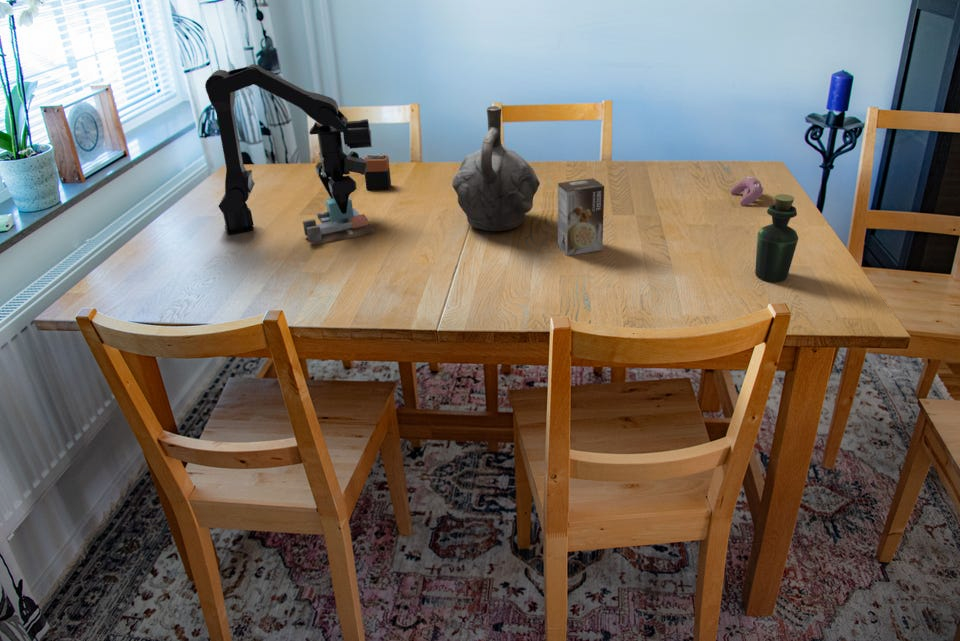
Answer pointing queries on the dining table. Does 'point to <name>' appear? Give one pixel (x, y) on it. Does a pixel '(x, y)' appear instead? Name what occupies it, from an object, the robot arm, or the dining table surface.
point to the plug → (336, 211)
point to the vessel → (495, 182)
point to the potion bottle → (776, 241)
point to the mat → (325, 220)
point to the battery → (377, 172)
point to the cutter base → (318, 238)
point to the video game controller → (748, 190)
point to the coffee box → (580, 216)
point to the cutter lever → (343, 224)
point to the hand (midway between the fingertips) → (339, 207)
